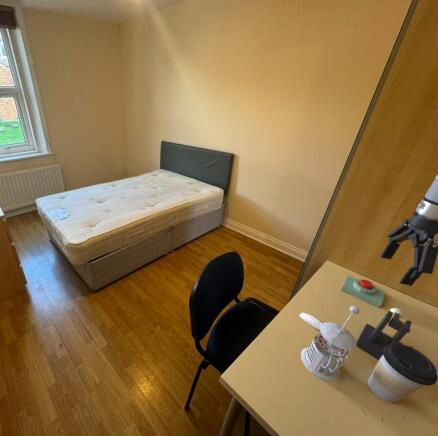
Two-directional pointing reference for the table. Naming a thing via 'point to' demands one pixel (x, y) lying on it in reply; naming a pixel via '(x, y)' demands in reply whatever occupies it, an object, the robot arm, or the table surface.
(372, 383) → the coffee cup
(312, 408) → the table surface
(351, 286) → the button block
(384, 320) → the black lever stand
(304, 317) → the white rounded bar
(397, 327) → the lever switch
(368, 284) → the power button
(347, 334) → the french press
